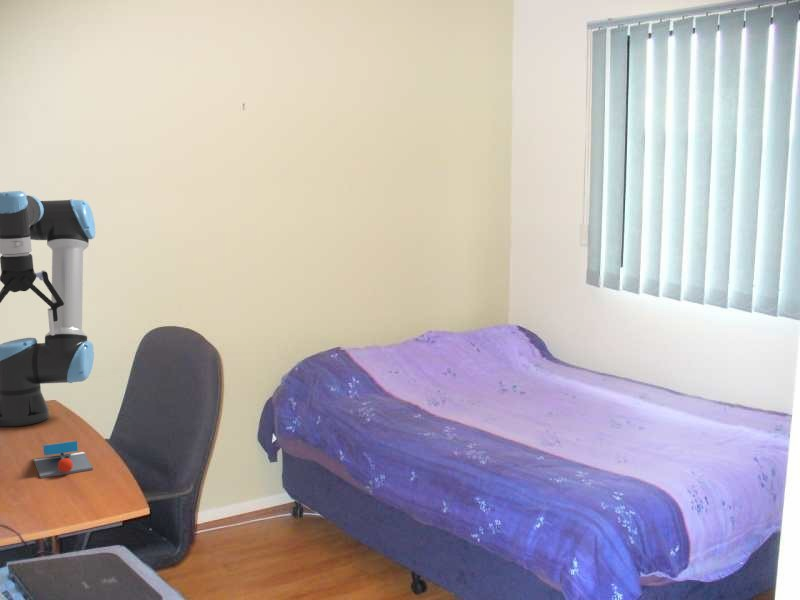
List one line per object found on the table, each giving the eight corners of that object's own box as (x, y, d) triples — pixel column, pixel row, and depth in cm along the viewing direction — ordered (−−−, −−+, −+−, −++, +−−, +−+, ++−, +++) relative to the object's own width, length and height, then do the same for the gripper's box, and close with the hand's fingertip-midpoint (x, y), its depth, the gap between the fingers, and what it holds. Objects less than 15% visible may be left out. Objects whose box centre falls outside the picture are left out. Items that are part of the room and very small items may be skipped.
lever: (45, 473, 248) (51, 474, 231) (43, 445, 248) (48, 445, 232) (74, 468, 250) (81, 470, 234) (71, 441, 251) (78, 440, 235)
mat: (34, 461, 245) (33, 459, 245) (84, 454, 250) (83, 451, 250) (40, 478, 233) (40, 475, 232) (92, 469, 238) (92, 467, 238)
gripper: (-38, 260, 235) (-29, 347, 239) (70, 251, 246) (78, 334, 250) (-41, 256, 241) (-31, 341, 245) (65, 248, 253) (72, 328, 257)
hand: (24, 337), depth 248 cm, fingers open, 13 cm apart
